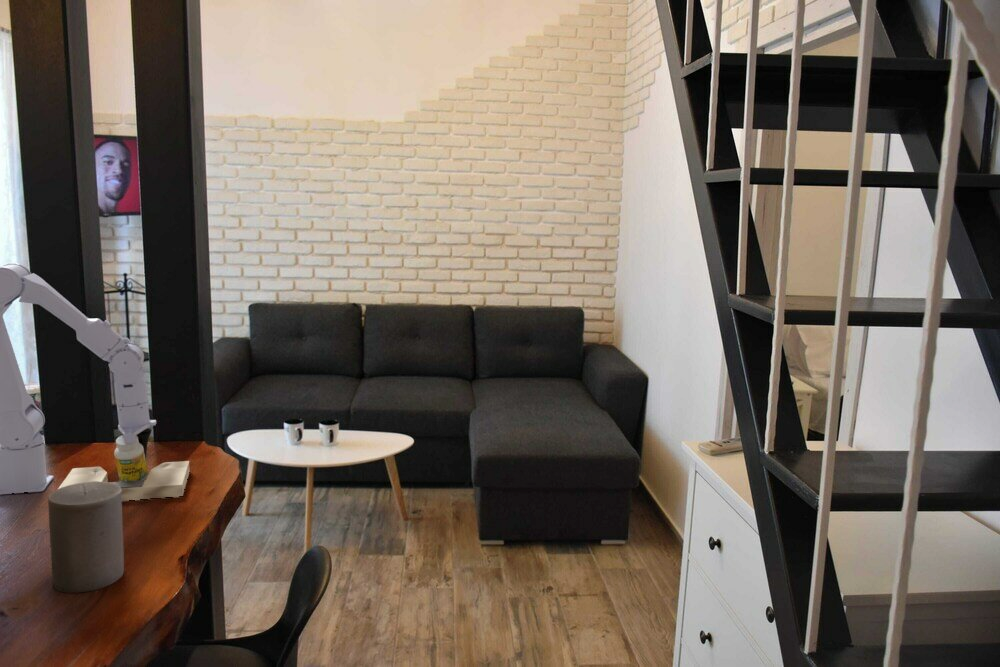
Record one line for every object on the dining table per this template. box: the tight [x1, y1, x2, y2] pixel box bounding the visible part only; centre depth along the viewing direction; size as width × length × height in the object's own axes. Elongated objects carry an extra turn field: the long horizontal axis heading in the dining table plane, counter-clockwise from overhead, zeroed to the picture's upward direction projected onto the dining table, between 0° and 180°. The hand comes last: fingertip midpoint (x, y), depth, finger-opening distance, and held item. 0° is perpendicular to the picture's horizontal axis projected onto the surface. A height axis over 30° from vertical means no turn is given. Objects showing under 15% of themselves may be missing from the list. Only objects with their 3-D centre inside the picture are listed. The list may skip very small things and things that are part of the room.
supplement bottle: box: [113, 435, 149, 482], centre depth 146 cm, size 5×5×10 cm
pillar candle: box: [47, 481, 125, 594], centre depth 109 cm, size 10×10×15 cm
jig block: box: [57, 460, 191, 502], centre depth 145 cm, size 22×14×3 cm, turn 108°
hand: (139, 465), depth 151 cm, fingers closed, pressing on supplement bottle
